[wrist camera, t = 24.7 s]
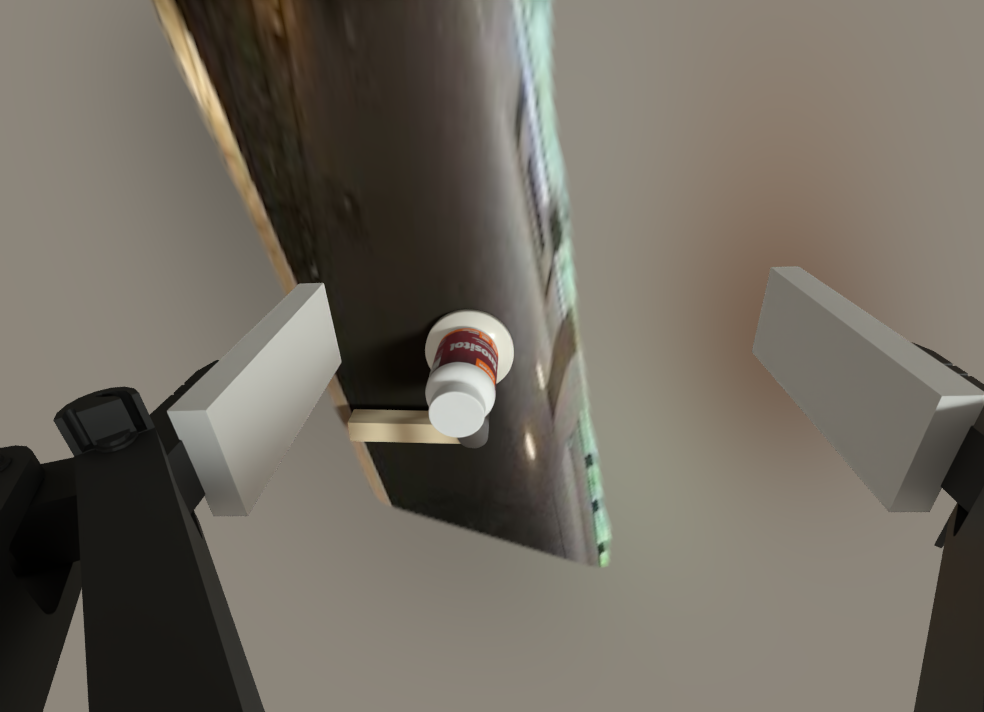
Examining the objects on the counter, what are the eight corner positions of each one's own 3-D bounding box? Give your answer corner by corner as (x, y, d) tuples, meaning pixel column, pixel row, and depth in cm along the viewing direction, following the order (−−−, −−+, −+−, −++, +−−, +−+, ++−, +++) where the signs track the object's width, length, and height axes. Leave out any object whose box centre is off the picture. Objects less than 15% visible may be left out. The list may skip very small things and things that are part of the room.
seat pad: (421, 310, 50) (420, 314, 49) (512, 307, 50) (512, 311, 49) (431, 386, 54) (430, 391, 54) (514, 384, 54) (514, 389, 53)
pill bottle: (508, 338, 50) (507, 401, 40) (483, 385, 53) (476, 455, 43) (451, 314, 49) (435, 373, 39) (428, 363, 52) (409, 429, 42)
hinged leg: (489, 402, 55) (487, 423, 51) (489, 425, 56) (488, 448, 53) (356, 399, 55) (346, 420, 52) (360, 423, 57) (350, 445, 53)
